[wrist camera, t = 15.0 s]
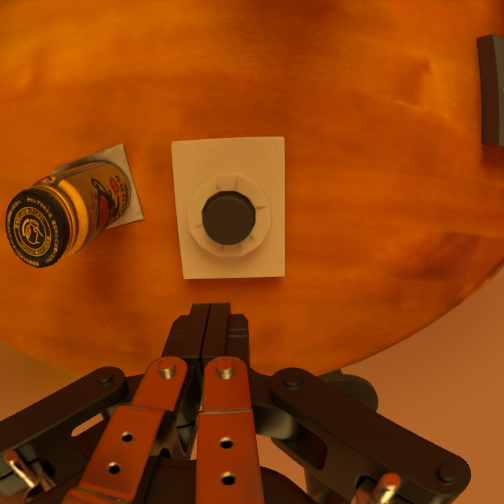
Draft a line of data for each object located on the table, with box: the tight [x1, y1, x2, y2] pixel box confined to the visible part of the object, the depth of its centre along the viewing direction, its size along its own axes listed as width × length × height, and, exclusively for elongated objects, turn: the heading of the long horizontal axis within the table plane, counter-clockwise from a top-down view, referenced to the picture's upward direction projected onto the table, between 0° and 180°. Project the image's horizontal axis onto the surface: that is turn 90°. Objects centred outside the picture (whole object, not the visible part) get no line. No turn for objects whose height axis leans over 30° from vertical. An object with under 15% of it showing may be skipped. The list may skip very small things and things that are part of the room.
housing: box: [171, 136, 285, 279], centre depth 27 cm, size 12×9×4 cm
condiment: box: [6, 143, 144, 268], centre depth 22 cm, size 7×8×12 cm
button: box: [203, 194, 252, 245], centre depth 24 cm, size 4×4×2 cm
